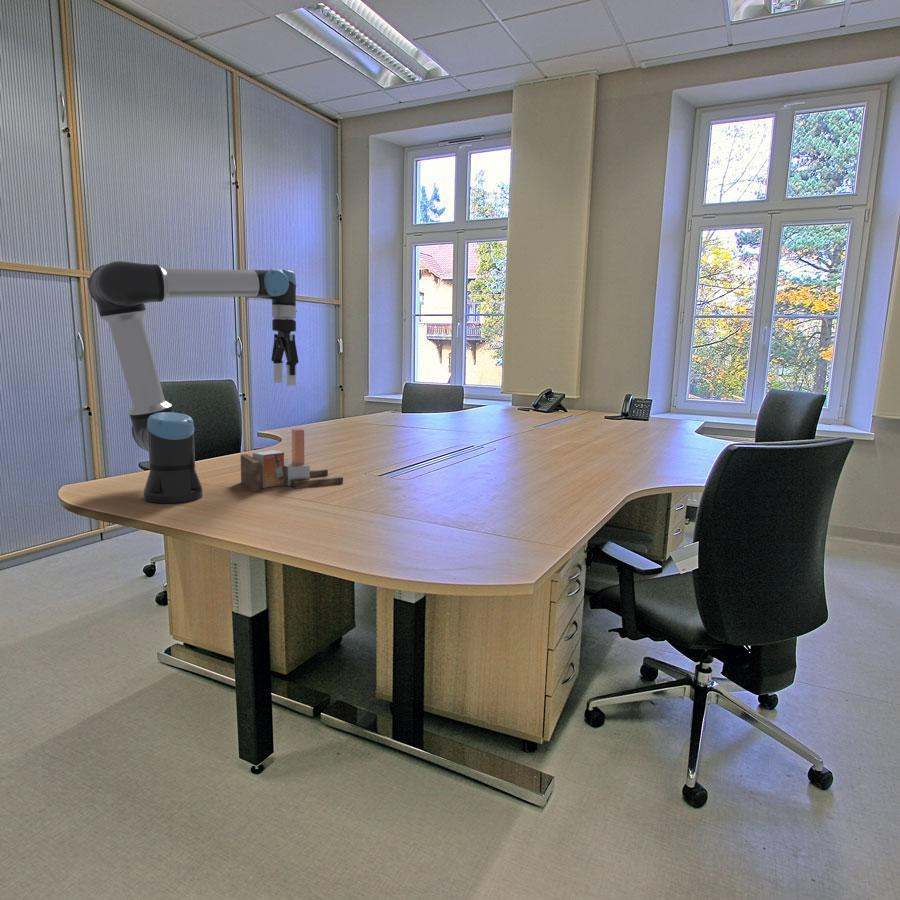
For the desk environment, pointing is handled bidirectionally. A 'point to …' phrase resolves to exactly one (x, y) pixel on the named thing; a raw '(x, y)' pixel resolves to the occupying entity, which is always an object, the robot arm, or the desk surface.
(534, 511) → the desk surface
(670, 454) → the desk surface
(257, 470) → the frame
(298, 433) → the mallet
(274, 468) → the small box
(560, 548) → the desk surface
